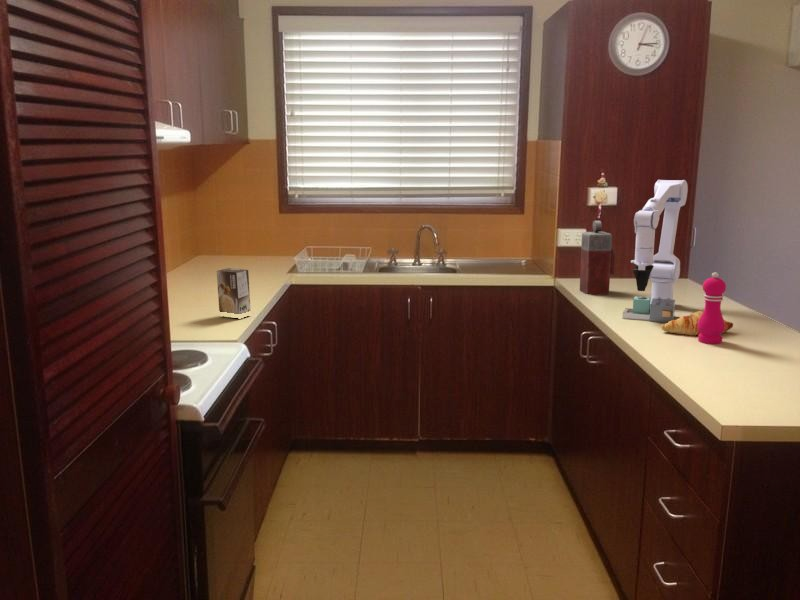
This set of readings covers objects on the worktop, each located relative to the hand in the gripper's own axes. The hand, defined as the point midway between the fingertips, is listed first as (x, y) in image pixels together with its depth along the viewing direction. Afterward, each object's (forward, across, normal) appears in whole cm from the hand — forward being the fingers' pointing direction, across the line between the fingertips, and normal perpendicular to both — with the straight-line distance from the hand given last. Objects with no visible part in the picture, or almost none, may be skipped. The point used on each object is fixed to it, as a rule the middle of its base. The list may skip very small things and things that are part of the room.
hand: (642, 288), depth 232 cm
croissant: (+10, +16, +17) cm, 26 cm away
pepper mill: (+10, +26, +21) cm, 35 cm away
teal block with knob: (+9, 0, 0) cm, 9 cm away
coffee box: (+10, +48, -127) cm, 136 cm away
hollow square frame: (+9, +1, +2) cm, 10 cm away
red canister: (+10, -40, -20) cm, 45 cm away
